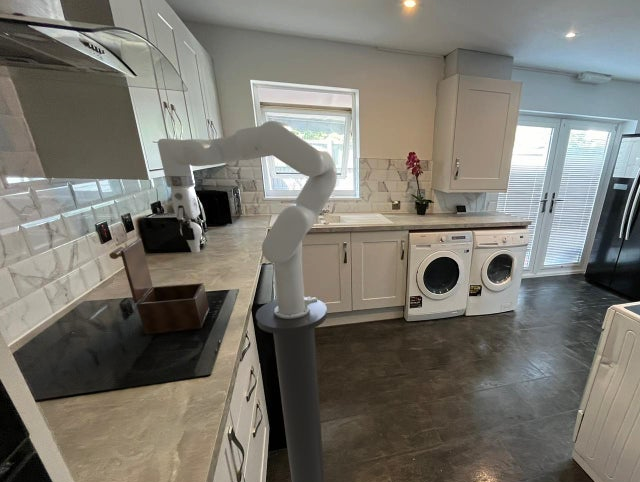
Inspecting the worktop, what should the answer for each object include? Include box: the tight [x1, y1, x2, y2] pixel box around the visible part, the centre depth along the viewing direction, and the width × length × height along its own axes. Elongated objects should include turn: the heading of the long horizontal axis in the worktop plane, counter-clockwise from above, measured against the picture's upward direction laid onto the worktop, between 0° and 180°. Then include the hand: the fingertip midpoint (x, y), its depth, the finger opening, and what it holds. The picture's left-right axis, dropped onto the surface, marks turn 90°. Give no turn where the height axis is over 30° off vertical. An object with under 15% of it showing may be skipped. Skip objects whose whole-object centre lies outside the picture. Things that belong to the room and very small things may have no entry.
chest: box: [135, 282, 210, 336], centre depth 108 cm, size 16×14×11 cm
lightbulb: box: [179, 222, 203, 255], centre depth 109 cm, size 6×6×11 cm
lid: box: [109, 238, 154, 304], centre depth 100 cm, size 16×14×5 cm
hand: (192, 236), depth 108 cm, fingers closed on lightbulb, 6 cm apart
